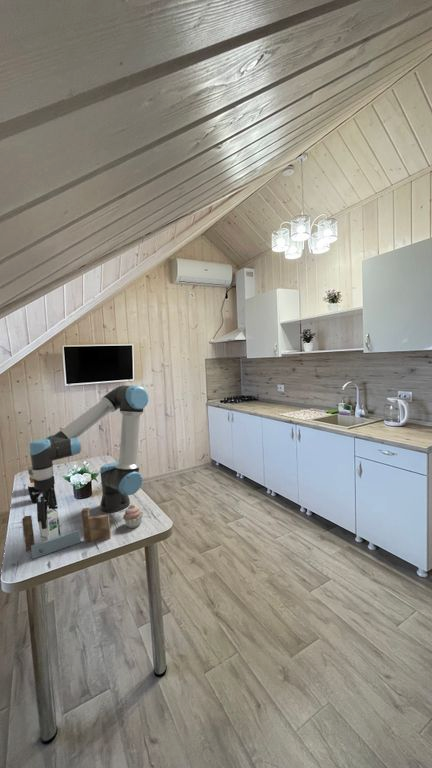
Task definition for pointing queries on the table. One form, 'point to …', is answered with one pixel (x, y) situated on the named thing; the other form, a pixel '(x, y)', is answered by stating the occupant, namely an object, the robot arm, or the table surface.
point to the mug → (33, 492)
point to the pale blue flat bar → (55, 544)
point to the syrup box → (51, 525)
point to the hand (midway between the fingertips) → (49, 529)
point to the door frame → (92, 528)
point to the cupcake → (133, 516)
